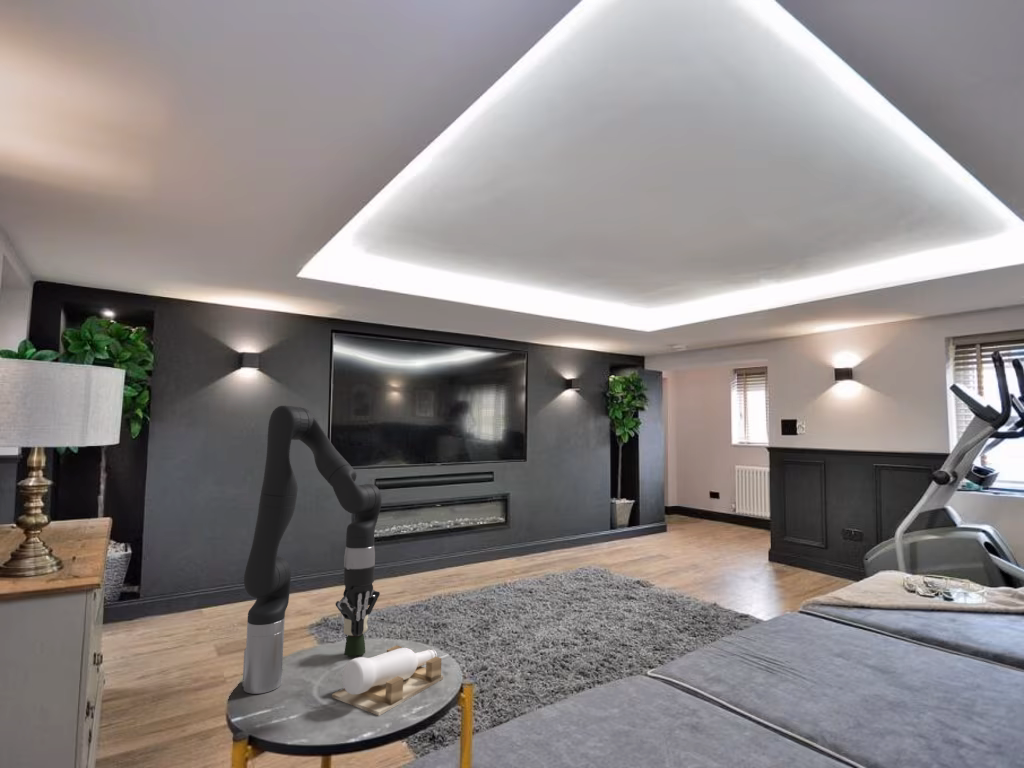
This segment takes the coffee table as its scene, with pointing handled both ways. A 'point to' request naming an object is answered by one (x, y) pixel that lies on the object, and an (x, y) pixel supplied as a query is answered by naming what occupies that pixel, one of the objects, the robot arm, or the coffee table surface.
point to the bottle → (382, 668)
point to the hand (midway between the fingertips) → (357, 634)
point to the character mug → (354, 639)
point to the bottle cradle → (394, 689)
